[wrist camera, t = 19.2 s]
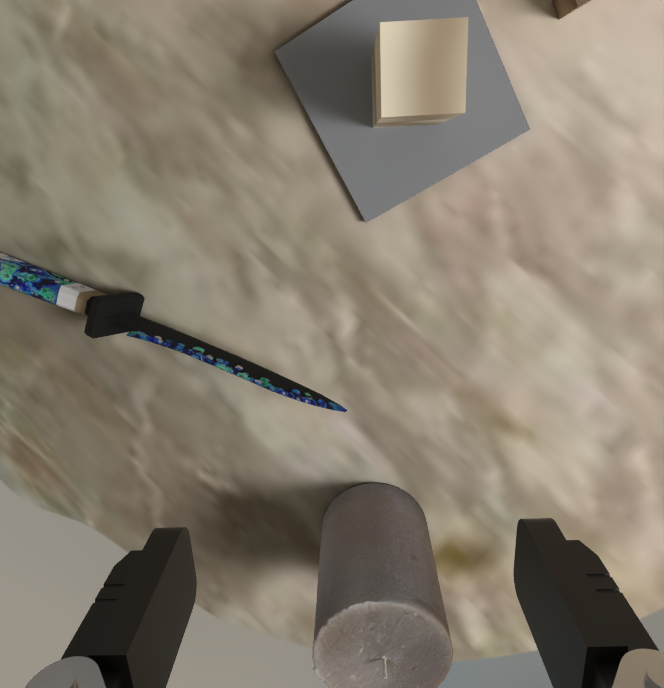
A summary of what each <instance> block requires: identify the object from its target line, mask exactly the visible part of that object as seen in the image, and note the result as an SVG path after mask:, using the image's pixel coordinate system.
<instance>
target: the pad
mask: <svg viewBox="0 0 664 688" xmlns="http://www.w3.org/2000/svg"><path fill="white" fill-rule="evenodd" d="M461 17H468V46H467V77H466V108H465V113H464V114H462V115H459V116H457V117H454V118H452V119H450V120H447V121H445V122H442V123H440V124H438V125H419V126H399V127H380V128H373V101H372V52H373V48H374V44H375V40H376V36H377V32H378V28H379V24H380V22H393V21H410V20H427V19H444V18H461ZM275 54H276V56H277V58H278V59H279V61H280V63H281V65H282V67H283V69H284V71H285V72H286V74H287V76H288V78H289V80H290V82H291V84H292V86H293V87H294V89H295V91H296V93H297V95H298V97H299V99H300V101H301V102H302V104H303V106H304V108H305V110H306V112H307V114H308V115H309V117H310V119H311V121H312V123H313V125H314V127H315V129H316V130H317V132H318V134H319V136H320V138H321V140H322V142H323V143H324V145H325V147H326V149H327V151H328V153H329V155H330V157H331V158H332V160H333V162H334V164H335V166H336V168H337V170H338V171H339V173H340V175H341V177H342V179H343V181H344V183H345V185H346V186H347V188H348V190H349V192H350V194H351V196H352V198H353V199H354V201H355V203H356V205H357V207H358V209H359V211H360V213H361V214H362V216H363V218H364V220H365V222H366V223H367V222H368V221H370V220H372V219H374V218H375V217H377V216H379V215H381V214H382V213H384V212H386V211H388V210H389V209H391V208H393V207H395V206H396V205H398V204H400V203H402V202H403V201H405V200H407V199H409V198H410V197H412V196H414V195H416V194H418V193H419V192H421V191H423V190H425V189H426V188H428V187H430V186H432V185H433V184H435V183H437V182H439V181H440V180H442V179H444V178H446V177H447V176H449V175H451V174H453V173H454V172H456V171H458V170H460V169H461V168H463V167H465V166H467V165H468V164H470V163H472V162H474V161H476V160H477V159H479V158H481V157H483V156H484V155H486V154H488V153H490V152H491V151H493V150H495V149H497V148H498V147H500V146H502V145H504V144H505V143H507V142H509V141H511V140H512V139H514V138H516V137H518V136H519V135H521V134H523V133H525V132H526V131H528V130H530V128H529V125H528V123H527V121H526V118H525V116H524V114H523V111H522V109H521V106H520V104H519V102H518V99H517V97H516V94H515V92H514V90H513V87H512V85H511V82H510V80H509V78H508V75H507V73H506V70H505V68H504V66H503V63H502V61H501V59H500V56H499V54H498V51H497V49H496V47H495V44H494V42H493V39H492V37H491V35H490V32H489V30H488V27H487V25H486V23H485V20H484V18H483V15H482V13H481V11H480V8H479V6H478V3H477V1H476V0H352V1H351V2H349V3H348V4H346V5H345V6H343V7H341V8H340V9H338V10H337V11H335V12H334V13H332V14H331V15H329V16H328V17H326V18H325V19H323V20H322V21H320V22H319V23H317V24H316V25H314V26H313V27H311V28H310V29H308V30H307V31H305V32H304V33H302V34H300V35H299V36H297V37H296V38H294V39H293V40H291V41H290V42H288V43H287V44H285V45H284V46H282V47H281V48H279V49H278V50H276V51H275Z"/></svg>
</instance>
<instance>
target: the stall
mask: <svg viewBox="0 0 664 688" xmlns="http://www.w3.org/2000/svg"><path fill="white" fill-rule="evenodd" d="M589 1H591V0H554V1H552V2H553V4H554V7H555V9H556V12H557V15H558V17H559V19H561V18H562V17H564V16H566V15H567V14H569V13H571V12H572V11H574V10H576V9H577V8H579V7H581V6H582V5H584V4H586V3H587V2H589Z"/></svg>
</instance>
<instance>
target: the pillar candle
mask: <svg viewBox="0 0 664 688" xmlns="http://www.w3.org/2000/svg"><path fill="white" fill-rule="evenodd" d="M312 657H313V661H314V665H315V667H314V668H313V669H314V671H315V674H316V675H317V677H318V678H319V679H320V680H323V681H324V683H325V684H326V685H327V686H328V687H329V688H438V686H439V685H440V684H441V683H442V682H443V681H444V679H445V678H446V676H447V674H448V672H449V670H450V668H451V664H452V657H453V649H452V643H451V638H450V633H449V628H448V623H447V618H446V614H445V609H444V605H443V600H442V595H441V591H440V585H439V581H438V576H437V569H436V565H435V560H434V556H433V551H432V547H431V541H430V537H429V531H428V527H427V522H426V519H425V515H424V512H423V510H422V508H421V507H420V505H419V504H418V503H417V501H416V500H415V499H414V498H413V497H412V496H411V495H410V494H408V493H407V492H406V491H403V490H402V489H400V488H397V487H394V486H392V485H387V484H381V483H369V484H368V483H367V484H361V485H357V486H354V487H352V488H349V489H347V490H345V491H343V492H342V493H341V494H339V495H338V496H337V497H336V498H335V499H334V500H333V501H332V502H331V504H330V505H329V507H328V509H327V511H326V513H325V515H324V518H323V523H322V529H321V544H320V559H319V572H318V587H317V603H316V619H315V630H314V642H313V656H312Z"/></svg>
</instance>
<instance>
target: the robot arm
mask: <svg viewBox="0 0 664 688" xmlns="http://www.w3.org/2000/svg"><path fill="white" fill-rule="evenodd" d="M514 583H515V589H516V594H517V597H518V600H519V603H520V605H521V608H522V610H523V613H524V615H525V618H526V620H527V623H528V625H529V628H530V630H531V633H532V635H533V638H534V640H535V643H536V645H537V648H538V650H539V652H540V655H541V658H542V660H543V663H544V665H545V668H546V670H547V673H548V675H549V678H550V680H551V683H552V685H553V688H664V652H661V651H659V650H658V648H657V647H656V645H655V644H654V642H653V641H652V639H651V637H650V636H649V634H648V633H647V631H646V630H645V628H644V627H643V625H642V623H641V622H640V620H639V619H638V617H637V616H636V614H635V613H634V611H633V609H632V608H631V606H630V605H629V603H628V602H627V600H626V599H625V597H624V595H623V594H622V593H620V591H619V588H618V586H617V585H616V583H615V582H614V580H613V578H612V577H610V575H609V572H608V571H607V569H606V568H605V566H604V564H603V563H602V561H601V560H600V558H599V557H598V555H596V554H595V553H594V552H593V551H591V550H590V549H589V548H588V547H587V546H585V545H584V544H583V543H582V542H580V541H579V540H566V539H565V537H564V535H563V534H562V532H561V530H560V529H559V527H558V525H557V524H556V522H555V521H554V520H553V519H552V518H539V519H520V520H519V521H518V525H517V536H516V548H515V560H514ZM196 586H197V582H196V573H195V566H194V560H193V554H192V548H191V541H190V535H189V531H188V529H187V528H186V527H183V528H155V529H154V530H153V531H152V533H151V535H150V537H149V539H148V541H147V543H146V545H145V546H144V548H143V550H139V551H130V552H129V553H128V554H127V555H126V556H125V557H124V558H123V559H122V560H121V561H119V562H118V563H117V564H116V565H115V566H114V567H113V569H112V571H111V573H110V575H109V576H108V578H107V580H106V581H105V583H104V587H103V588H101V590H100V592H99V593H98V595H97V597H96V599H95V603H93V604H92V606H91V607H90V609H89V611H88V613H87V615H86V616H85V618H84V620H83V621H82V623H81V625H80V627H79V628H78V630H77V632H76V634H75V635H74V637H73V639H72V641H71V642H70V644H69V646H68V648H67V649H66V651H65V653H64V655H63V656H62V658H61V660H59V661H57V662H54V663H53V664H51V665H49V666H47V667H46V668H44V669H43V670H41V671H40V672H39V673H38V674H37V675H35V676H34V677H33V678H32V679H31V680H30V682H29V683H28V684H27V686H26V687H25V688H166V685H167V682H168V679H169V676H170V673H171V671H172V668H173V664H174V662H175V659H176V656H177V653H178V650H179V647H180V644H181V641H182V638H183V635H184V633H185V629H186V627H187V624H188V621H189V618H190V615H191V612H192V609H193V606H194V602H195V597H196Z"/></svg>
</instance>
